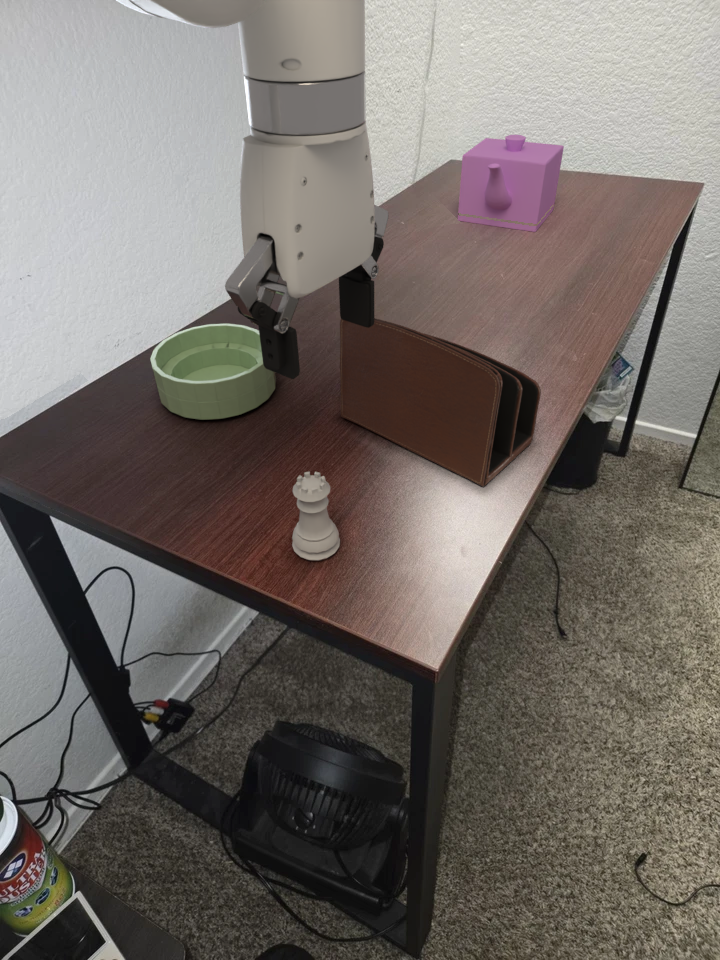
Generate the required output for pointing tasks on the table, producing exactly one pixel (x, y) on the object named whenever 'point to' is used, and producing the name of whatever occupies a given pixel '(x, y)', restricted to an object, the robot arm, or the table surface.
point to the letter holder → (436, 398)
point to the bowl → (212, 371)
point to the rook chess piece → (314, 519)
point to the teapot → (509, 182)
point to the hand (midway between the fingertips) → (321, 346)
